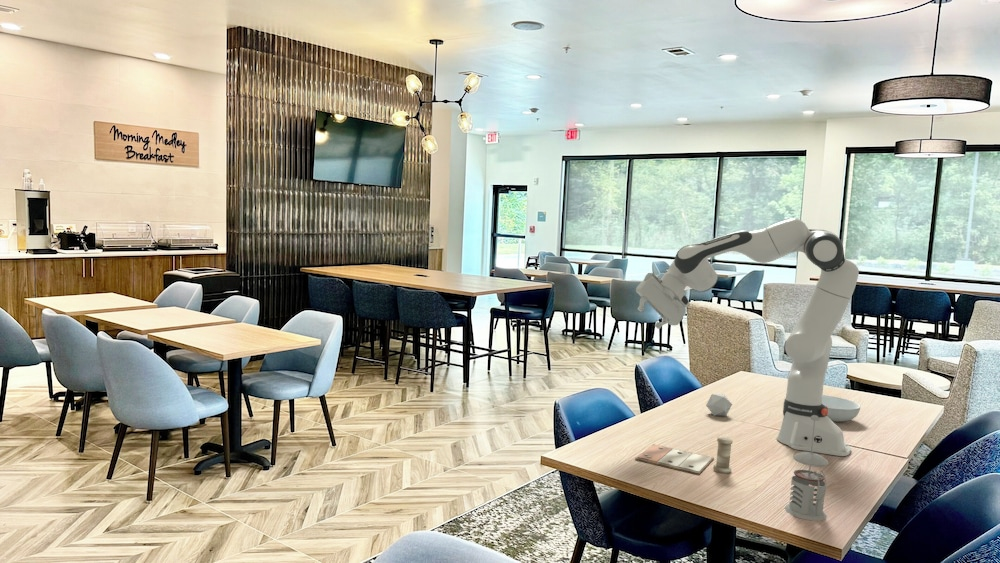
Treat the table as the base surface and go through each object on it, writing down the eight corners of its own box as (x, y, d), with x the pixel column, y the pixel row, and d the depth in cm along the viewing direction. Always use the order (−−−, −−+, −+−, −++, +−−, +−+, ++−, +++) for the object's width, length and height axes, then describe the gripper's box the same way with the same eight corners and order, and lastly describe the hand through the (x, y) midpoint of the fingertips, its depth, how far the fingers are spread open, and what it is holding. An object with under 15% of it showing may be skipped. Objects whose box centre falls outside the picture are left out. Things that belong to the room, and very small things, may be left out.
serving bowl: (789, 415, 267) (791, 398, 267) (813, 408, 281) (815, 392, 281) (845, 429, 252) (847, 411, 251) (867, 421, 266) (869, 404, 265)
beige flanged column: (732, 470, 201) (735, 439, 200) (729, 474, 197) (731, 443, 196) (715, 466, 204) (718, 435, 203) (711, 470, 199) (714, 439, 199)
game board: (713, 459, 210) (714, 456, 210) (699, 474, 195) (699, 472, 195) (653, 445, 219) (653, 443, 219) (635, 459, 205) (635, 457, 205)
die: (729, 421, 257) (739, 399, 260) (709, 408, 256) (720, 386, 260) (718, 422, 264) (727, 401, 268) (699, 410, 264) (709, 389, 267)
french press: (815, 505, 178) (824, 410, 176) (838, 524, 166) (849, 424, 164) (777, 503, 178) (786, 408, 176) (798, 523, 166) (808, 422, 164)
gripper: (655, 269, 238) (633, 300, 234) (693, 306, 244) (672, 337, 240) (645, 269, 244) (623, 300, 240) (681, 306, 250) (661, 336, 246)
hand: (648, 319), depth 240 cm, fingers open, 8 cm apart
